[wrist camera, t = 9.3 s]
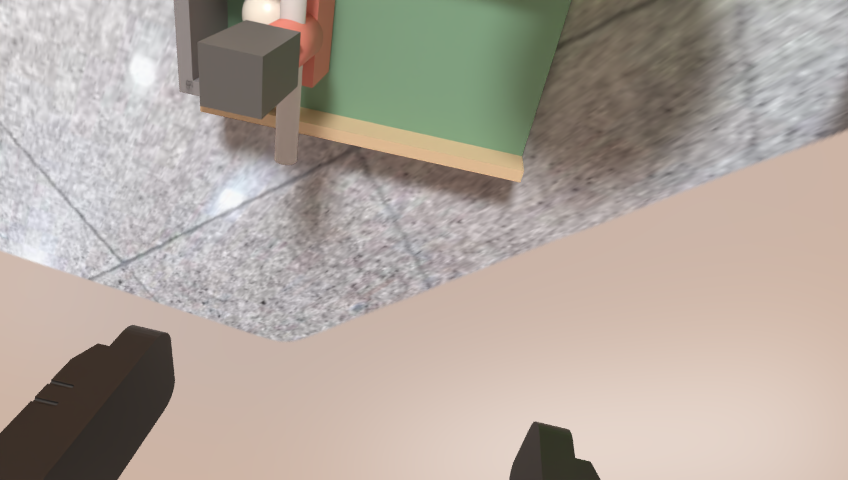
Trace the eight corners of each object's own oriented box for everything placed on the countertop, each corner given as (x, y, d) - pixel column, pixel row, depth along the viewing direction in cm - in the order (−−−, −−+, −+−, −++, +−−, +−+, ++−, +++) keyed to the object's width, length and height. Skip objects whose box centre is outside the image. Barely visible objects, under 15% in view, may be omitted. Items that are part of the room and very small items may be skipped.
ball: (257, -22, 39) (309, -9, 39) (256, 34, 41) (305, 46, 41) (231, -16, 36) (287, -3, 35) (231, 44, 38) (284, 57, 38)
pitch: (583, -45, 37) (600, -36, 31) (518, 162, 45) (522, 199, 39) (217, -128, 36) (165, -135, 31) (222, 96, 45) (181, 124, 39)
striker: (353, -105, 35) (266, -114, 22) (330, 132, 44) (259, 231, 31) (306, -116, 35) (189, -131, 22) (293, 123, 44) (205, 219, 31)
